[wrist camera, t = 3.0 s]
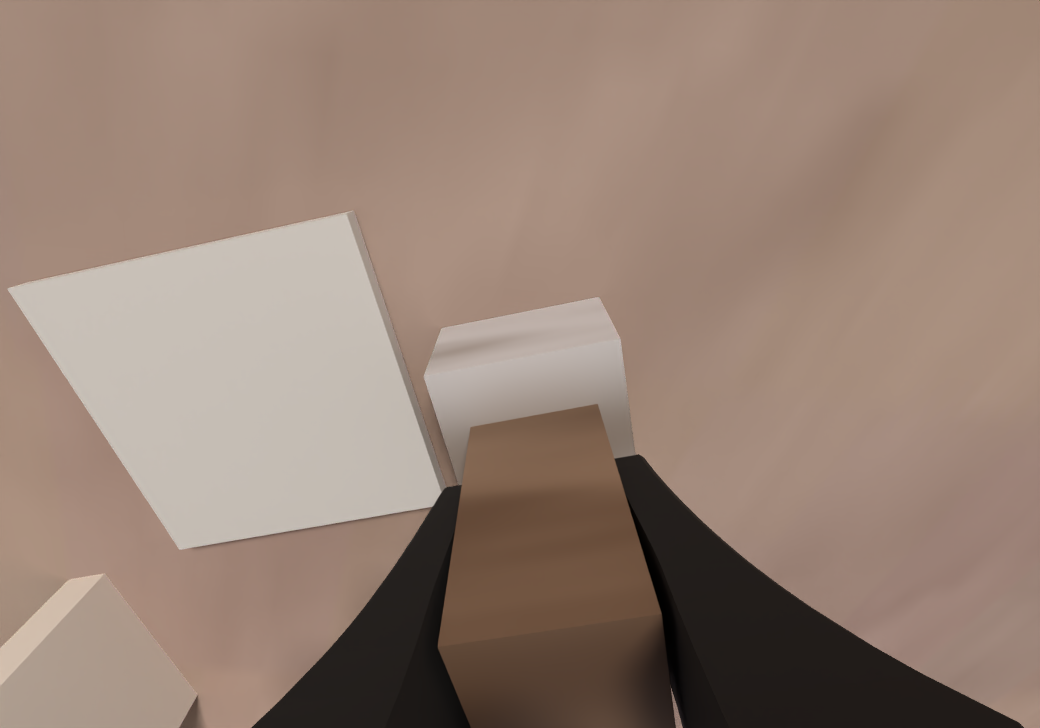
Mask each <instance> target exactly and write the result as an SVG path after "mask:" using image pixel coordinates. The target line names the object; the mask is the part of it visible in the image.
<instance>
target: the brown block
mask: <svg viewBox="0 0 1040 728" xmlns="http://www.w3.org/2000/svg"><path fill="white" fill-rule="evenodd" d="M424 379H425V382H426V385H427V388H428V391H429V394H430V398H431V401H432V404H433V407H434V410H435V413H436V416H437V419H438V422H439V426H440V429H441V432H442V435H443V438H444V441H445V444H446V447H447V450H448V454H449V457H450V460H451V463H452V466H453V469H454V472H455V475H456V478H457V482H458V485H462V487H461V494H460V501H459V507H458V514H457V521H456V527H455V534H454V541H453V547H452V554H451V561H450V567H449V574H448V581H447V587H446V594H445V601H444V607H443V614H442V621H441V627H440V634H439V641H438V649H439V652H440V654H441V657H442V659H443V661H444V664H445V666H446V669H447V671H448V674H449V676H450V678H451V681H452V683H453V686H454V688H455V690H456V693H457V695H458V698H459V700H460V702H461V705H462V707H463V710H464V712H465V714H466V717H467V719H468V722H469V724H470V727H471V728H676V726H675V718H674V710H673V702H672V694H671V686H670V678H669V670H668V662H667V653H666V645H665V637H664V629H663V621H662V614H661V610H660V607H659V604H658V600H657V597H656V594H655V591H654V587H653V584H652V581H651V577H650V574H649V571H648V568H647V564H646V561H645V558H644V554H643V551H642V548H641V544H640V541H639V538H638V535H637V531H636V528H635V525H634V521H633V518H632V515H631V512H630V508H629V505H628V502H627V498H626V495H625V492H624V489H623V485H622V482H621V479H620V475H619V472H618V469H617V466H616V462H615V458H621V457H626V456H632V455H635V447H634V440H633V432H632V424H631V417H630V409H629V401H628V394H627V386H626V378H625V371H624V363H623V355H622V348H621V340H620V337H619V335H618V333H617V331H616V329H615V327H614V325H613V323H612V321H611V319H610V317H609V315H608V313H607V311H606V310H605V308H604V306H603V304H602V302H601V300H600V298H599V297H596V298H591V299H586V300H581V301H576V302H571V303H566V304H561V305H556V306H551V307H546V308H541V309H536V310H531V311H525V312H520V313H515V314H510V315H505V316H500V317H495V318H490V319H485V320H480V321H475V322H470V323H465V324H460V325H455V326H450V327H445V328H441V331H440V334H439V336H438V339H437V342H436V345H435V347H434V350H433V353H432V355H431V358H430V361H429V363H428V366H427V369H426V371H425V374H424Z"/></svg>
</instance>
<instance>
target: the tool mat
mask: <svg viewBox="0 0 1040 728" xmlns="http://www.w3.org/2000/svg"><path fill="white" fill-rule="evenodd" d="M8 291H9V292H10V294H11V295H12V297H13V298H14V300H15V301H16V303H17V304H18V306H19V307H20V309H21V310H22V312H23V313H24V315H25V316H26V318H27V319H28V321H29V322H30V324H31V325H32V327H33V328H34V330H35V332H36V333H37V335H38V336H39V338H40V339H41V341H42V342H43V344H44V345H45V347H46V348H47V350H48V351H49V353H50V354H51V356H52V357H53V359H54V360H55V362H56V363H57V365H58V366H59V368H60V369H61V371H62V372H63V374H64V375H65V377H66V378H67V380H68V381H69V383H70V385H71V386H72V388H73V389H74V391H75V392H76V394H77V395H78V397H79V398H80V400H81V401H82V403H83V404H84V406H85V407H86V409H87V410H88V412H89V413H90V415H91V416H92V418H93V419H94V421H95V422H96V424H97V425H98V427H99V428H100V430H101V431H102V433H103V434H104V436H105V438H106V439H107V441H108V442H109V444H110V445H111V447H112V448H113V450H114V451H115V453H116V454H117V456H118V457H119V459H120V460H121V462H122V463H123V465H124V466H125V468H126V469H127V471H128V472H129V474H130V475H131V477H132V478H133V480H134V481H135V483H136V484H137V486H138V487H139V489H140V490H141V492H142V494H143V495H144V497H145V498H146V500H147V501H148V503H149V504H150V506H151V507H152V509H153V510H154V512H155V513H156V515H157V516H158V518H159V519H160V521H161V522H162V524H163V525H164V527H165V528H166V530H167V531H168V533H169V534H170V536H171V537H172V539H173V540H174V542H175V543H176V545H177V547H178V548H179V550H181V549H187V548H193V547H199V546H204V545H210V544H216V543H222V542H228V541H234V540H240V539H246V538H251V537H257V536H263V535H269V534H275V533H281V532H287V531H293V530H298V529H304V528H310V527H316V526H322V525H328V524H334V523H340V522H345V521H351V520H357V519H363V518H369V517H375V516H381V515H387V514H392V513H398V512H404V511H410V510H416V509H422V508H428V507H433V505H434V504H435V502H436V500H437V499H438V497H439V496H440V494H441V493H442V491H443V490H444V488H446V485H445V482H444V479H443V476H442V473H441V470H440V467H439V464H438V461H437V458H436V455H435V452H434V449H433V446H432V443H431V440H430V437H429V434H428V431H427V428H426V425H425V422H424V419H423V416H422V413H421V410H420V407H419V404H418V401H417V398H416V395H415V392H414V389H413V386H412V383H411V380H410V377H409V374H408V371H407V368H406V365H405V362H404V359H403V356H402V353H401V350H400V347H399V344H398V341H397V338H396V335H395V332H394V329H393V326H392V323H391V320H390V317H389V314H388V311H387V308H386V305H385V302H384V299H383V296H382V293H381V290H380V287H379V284H378V281H377V278H376V275H375V272H374V269H373V266H372V263H371V260H370V257H369V254H368V251H367V248H366V245H365V242H364V239H363V236H362V233H361V230H360V227H359V224H358V221H357V218H356V215H355V212H354V211H349V212H345V213H340V214H336V215H331V216H327V217H322V218H318V219H313V220H309V221H304V222H299V223H295V224H290V225H286V226H281V227H277V228H272V229H268V230H263V231H259V232H254V233H249V234H245V235H240V236H236V237H231V238H227V239H222V240H218V241H213V242H209V243H204V244H199V245H195V246H190V247H186V248H181V249H177V250H172V251H168V252H163V253H159V254H154V255H149V256H145V257H140V258H136V259H131V260H127V261H122V262H118V263H113V264H109V265H104V266H99V267H95V268H90V269H86V270H81V271H77V272H72V273H68V274H63V275H59V276H54V277H49V278H45V279H40V280H36V281H31V282H27V283H24V284H21V285H17V286H14V287H11V288H8Z"/></svg>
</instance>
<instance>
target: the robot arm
mask: <svg viewBox="0 0 1040 728" xmlns="http://www.w3.org/2000/svg"><path fill="white" fill-rule="evenodd" d="M615 462H616V466H617V469H618V472H619V475H620V479H621V482H622V485H623V489H624V492H625V495H626V498H627V502H628V505H629V508H630V512H631V515H632V518H633V521H634V525H635V528H636V531H637V535H638V538H639V541H640V544H641V548H642V551H643V554H644V558H645V561H646V564H647V568H648V571H649V574H650V577H651V581H652V584H653V587H654V591H655V594H656V597H657V600H658V604H659V607H660V610H661V614H662V621H663V629H664V637H665V645H666V653H667V662H668V670H669V678H670V685H671V688H672V691H673V695H674V698H675V701H676V704H677V707H678V711H679V715H680V718H681V722H682V726H683V728H1024V727H1023V726H1022V725H1021V724H1020V723H1018V722H1017V721H1015V720H1013V719H1011V718H1009V717H1007V716H1005V715H1003V714H1001V713H999V712H997V711H995V710H993V709H991V708H989V707H987V706H985V705H983V704H981V703H979V702H977V701H975V700H973V699H971V698H969V697H967V696H965V695H963V694H961V693H959V692H957V691H955V690H953V689H951V688H949V687H947V686H945V685H943V684H941V683H939V682H937V681H935V680H933V679H931V678H929V677H927V676H925V675H923V674H922V673H920V672H918V671H916V670H914V669H912V668H911V667H909V666H907V665H905V664H903V663H902V662H900V661H898V660H896V659H895V658H893V657H891V656H889V655H888V654H886V653H884V652H882V651H880V650H879V649H877V648H875V647H873V646H872V645H870V644H869V643H867V642H865V641H864V640H862V639H861V638H859V637H857V636H856V635H854V634H853V633H851V632H849V631H848V630H846V629H845V628H843V627H841V626H840V625H838V624H837V623H835V622H834V621H832V620H830V619H829V618H827V617H826V616H824V615H822V614H821V613H819V612H818V611H816V610H814V609H813V608H811V607H810V606H808V605H807V604H805V603H804V602H803V601H801V600H800V599H798V598H797V597H796V596H794V595H793V594H791V593H790V592H788V591H787V590H786V589H784V588H783V587H781V586H780V585H778V584H777V583H776V582H774V581H773V580H772V579H771V578H769V577H768V576H767V575H765V574H764V573H763V572H761V571H760V570H759V569H757V568H756V567H755V566H753V565H752V564H751V563H750V562H748V561H747V560H746V559H745V558H743V557H742V556H741V555H740V554H739V553H737V552H736V551H735V550H734V549H733V548H731V547H730V546H729V545H728V544H727V543H726V542H725V541H723V540H722V539H721V538H720V537H719V536H718V535H717V534H715V533H714V532H713V531H712V530H711V529H710V528H709V527H708V526H707V525H706V524H704V523H703V522H702V521H701V520H700V519H699V518H698V517H697V516H696V515H695V514H694V513H693V512H692V511H691V510H690V509H689V508H688V507H687V506H686V505H685V504H684V503H683V502H682V501H681V500H680V499H679V498H678V497H677V496H676V495H675V494H674V493H673V492H672V490H671V489H670V488H669V487H668V486H667V485H666V484H665V483H664V482H663V481H662V479H661V478H660V477H659V476H658V475H657V474H656V472H655V471H654V470H653V469H652V467H651V466H650V465H649V464H648V462H647V461H646V460H645V458H643V457H642V456H640V455H639V454H638V455H632V456H626V457H621V458H615ZM461 487H462V485H459V486H453V487H447V488H444V490H443V491H442V493H441V494H440V496H439V497H438V499H437V500H436V502H435V504H434V505H433V507H432V509H431V510H430V512H429V513H428V515H427V517H426V518H425V520H424V522H423V523H422V525H421V526H420V528H419V530H418V531H417V533H416V534H415V536H414V537H413V539H412V540H411V542H410V543H409V545H408V546H407V548H406V550H405V551H404V553H403V554H402V556H401V557H400V559H399V560H398V562H397V563H396V565H395V566H394V567H393V569H392V570H391V572H390V573H389V574H388V576H387V577H386V579H385V580H384V581H383V583H382V584H381V585H380V587H379V588H378V590H377V591H376V592H375V594H374V595H373V596H372V598H371V599H370V600H369V602H368V603H367V604H366V606H365V607H364V608H363V610H362V611H361V612H360V613H359V615H358V616H357V617H356V618H355V620H354V621H353V622H352V623H351V625H350V626H349V627H348V628H347V629H346V630H345V632H344V633H343V634H342V635H341V636H340V637H339V639H338V640H337V641H336V642H335V643H334V644H333V646H332V647H331V648H330V649H329V650H328V651H327V652H326V653H325V654H324V656H323V657H322V658H321V659H320V660H319V661H318V662H317V663H316V664H315V665H314V666H313V667H312V668H311V669H310V670H309V671H308V672H307V673H306V674H305V675H304V676H303V677H302V678H301V679H300V680H299V681H298V682H297V683H296V684H295V686H294V687H293V688H292V689H291V690H290V691H289V692H288V693H287V694H286V695H285V696H284V697H283V698H282V699H281V700H280V701H279V702H278V703H277V704H276V705H275V706H274V707H273V708H272V709H271V710H270V711H268V712H267V713H266V714H265V715H264V716H263V717H262V718H261V719H260V720H259V721H258V722H257V723H256V724H255V725H254V726H253V727H252V728H471V727H470V724H469V722H468V719H467V717H466V714H465V712H464V710H463V707H462V705H461V702H460V700H459V698H458V695H457V693H456V690H455V688H454V686H453V683H452V681H451V678H450V676H449V674H448V671H447V669H446V666H445V664H444V661H443V659H442V657H441V654H440V652H439V649H438V641H439V634H440V627H441V621H442V614H443V607H444V601H445V594H446V587H447V581H448V574H449V567H450V561H451V554H452V547H453V541H454V534H455V527H456V521H457V514H458V507H459V501H460V494H461Z"/></svg>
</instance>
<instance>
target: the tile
mask: <svg viewBox="0 0 1040 728" xmlns="http://www.w3.org/2000/svg"><path fill="white" fill-rule="evenodd" d="M197 695H198V694H197V693H196V692H195V691H194V689H193V688H192V687H191V685H190V684H189V683H188V681H187V680H186V679H185V678H184V676H183V675H182V674H181V672H180V671H179V670H178V668H177V667H176V666H175V664H174V663H173V662H172V661H171V659H170V658H169V657H168V655H167V654H166V653H165V651H164V650H163V649H162V647H161V646H160V645H159V644H158V642H157V641H156V640H155V638H154V637H153V636H152V634H151V633H150V632H149V630H148V629H147V628H146V627H145V625H144V624H143V623H142V621H141V620H140V619H139V617H138V616H137V615H136V614H135V612H134V611H133V610H132V608H131V607H130V606H129V604H128V603H127V602H126V600H125V599H124V598H123V597H122V595H121V594H120V593H119V591H118V590H117V589H116V587H115V586H114V585H113V583H112V582H111V581H110V580H109V578H108V577H107V576H106V574H99V575H93V576H87V577H81V578H75V579H69V580H68V581H67V582H66V583H65V584H64V585H63V586H62V587H61V588H60V589H59V590H58V591H57V592H56V593H55V594H54V595H53V596H52V597H51V598H50V599H49V600H48V601H47V602H46V603H45V604H44V605H43V606H42V607H41V608H40V609H39V610H38V611H37V612H36V613H35V614H34V615H33V616H32V617H31V618H30V619H29V620H28V621H27V622H26V623H25V624H24V625H23V626H22V627H21V628H20V629H19V630H18V631H17V632H16V633H15V634H14V635H13V636H12V637H11V638H10V639H9V640H8V641H7V642H6V643H5V644H4V645H3V646H2V647H1V648H0V728H179V727H180V725H181V724H182V722H183V720H184V718H185V717H186V715H187V713H188V711H189V709H190V708H191V706H192V704H193V702H194V701H195V699H196V697H197Z"/></svg>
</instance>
